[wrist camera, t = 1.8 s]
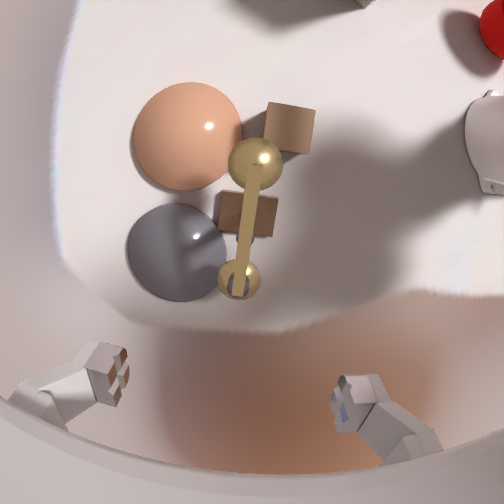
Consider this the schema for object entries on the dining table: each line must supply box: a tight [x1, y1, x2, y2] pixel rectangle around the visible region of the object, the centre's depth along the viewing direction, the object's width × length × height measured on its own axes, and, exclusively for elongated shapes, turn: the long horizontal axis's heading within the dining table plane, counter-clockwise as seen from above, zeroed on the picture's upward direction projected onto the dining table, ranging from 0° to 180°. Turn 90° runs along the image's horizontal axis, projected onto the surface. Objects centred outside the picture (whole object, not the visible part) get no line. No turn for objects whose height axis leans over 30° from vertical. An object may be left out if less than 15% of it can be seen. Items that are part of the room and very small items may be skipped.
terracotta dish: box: [133, 82, 242, 190], centre depth 33 cm, size 14×14×1 cm
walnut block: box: [262, 102, 315, 154], centre depth 31 cm, size 5×5×6 cm
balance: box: [217, 137, 283, 300], centre depth 31 cm, size 7×18×14 cm, turn 172°
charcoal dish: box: [128, 204, 227, 302], centre depth 39 cm, size 14×14×1 cm
